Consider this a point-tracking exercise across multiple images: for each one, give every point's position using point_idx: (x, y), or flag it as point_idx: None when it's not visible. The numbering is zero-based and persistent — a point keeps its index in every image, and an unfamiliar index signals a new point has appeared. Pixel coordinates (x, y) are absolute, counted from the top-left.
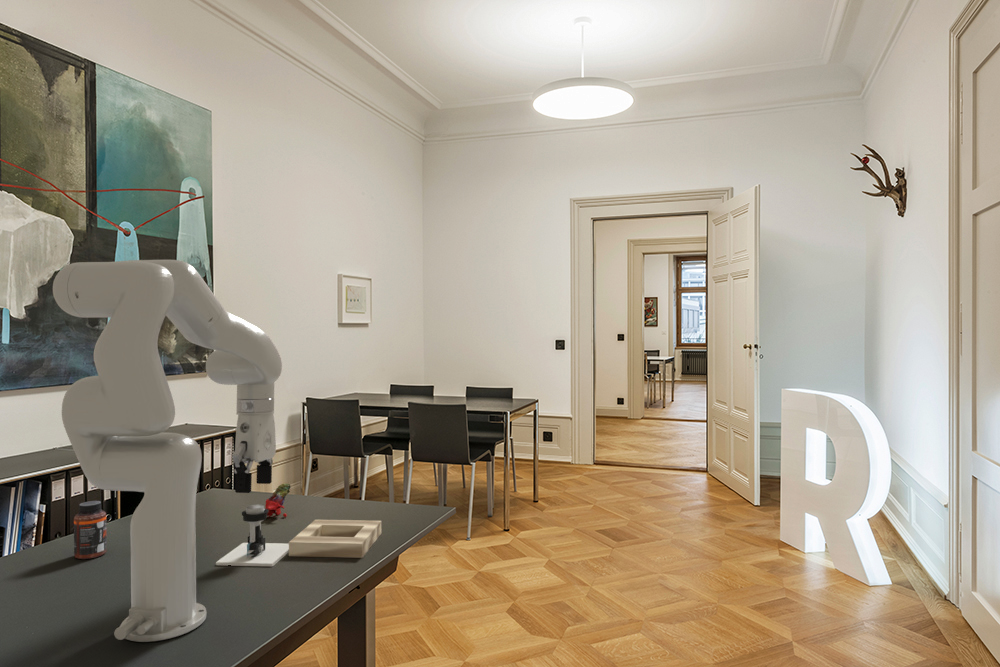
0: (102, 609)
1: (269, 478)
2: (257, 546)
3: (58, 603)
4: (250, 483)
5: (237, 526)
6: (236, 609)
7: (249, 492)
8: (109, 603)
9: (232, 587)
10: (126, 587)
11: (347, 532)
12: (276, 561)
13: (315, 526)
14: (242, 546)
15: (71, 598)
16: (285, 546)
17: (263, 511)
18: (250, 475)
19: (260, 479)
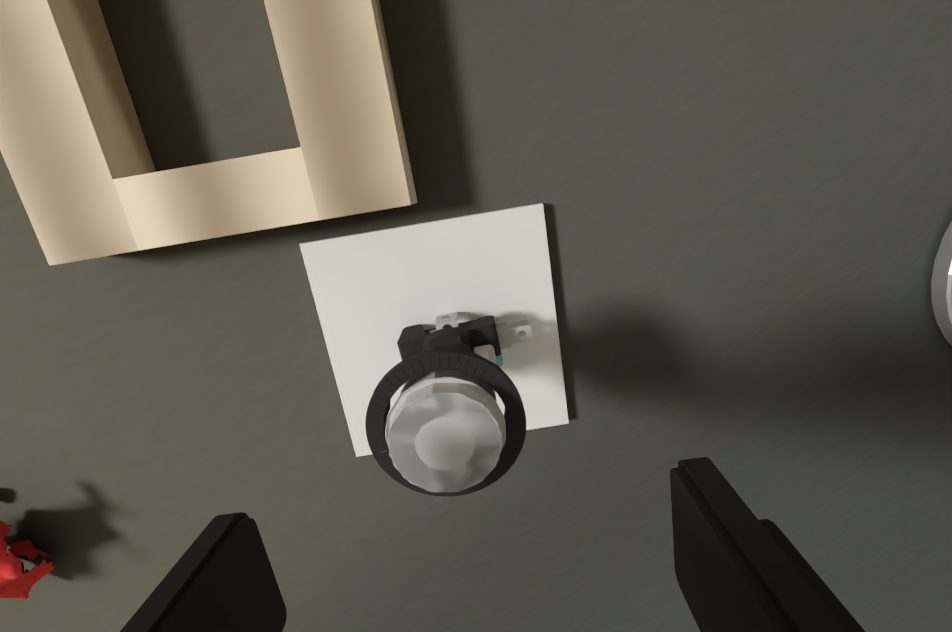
0: (922, 497)
1: (225, 552)
2: (485, 322)
3: (879, 620)
4: (753, 514)
5: None
6: (945, 88)
7: (704, 458)
8: (882, 509)
9: (754, 231)
10: None
11: (86, 29)
12: (502, 209)
13: (149, 201)
14: None
15: None
16: (345, 266)
17: (431, 380)
18: (820, 605)
19: (259, 621)
